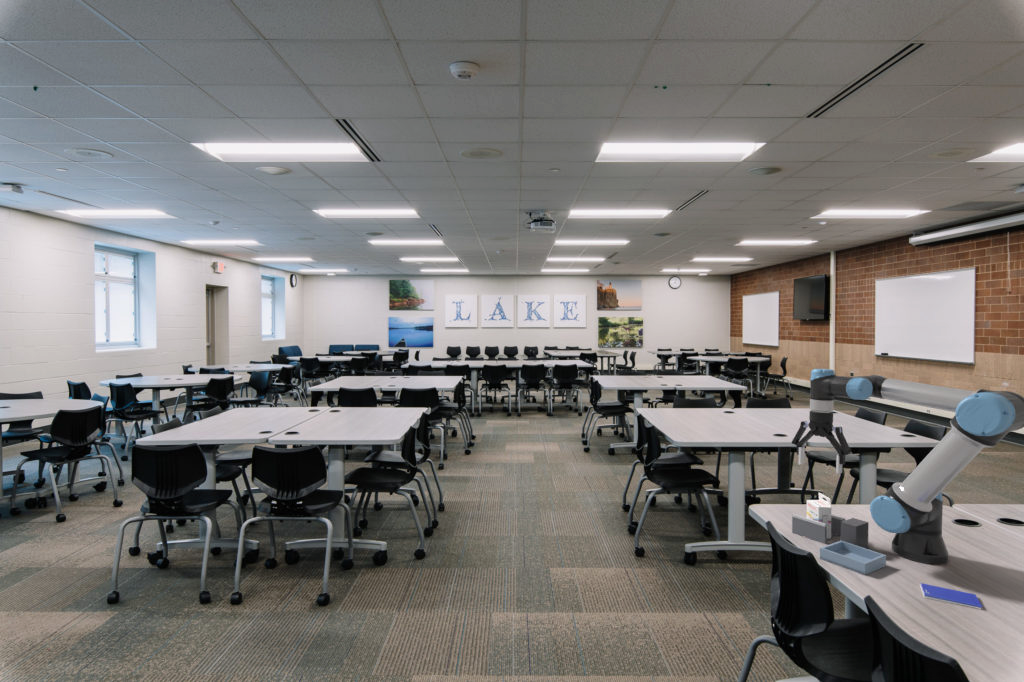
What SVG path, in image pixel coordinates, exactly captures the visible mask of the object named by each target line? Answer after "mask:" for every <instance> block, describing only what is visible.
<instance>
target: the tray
mask: <svg viewBox="0 0 1024 682" xmlns="http://www.w3.org/2000/svg"><path fill="white" fill-rule="evenodd" d="M819 559H820V560H822V561H826V562H828V563H831V564H833V565H835V566H836V565H837V566H838V565H839V567H841V566H842V567H841V568H844V569H847V570H849V569H850V570H849V571H852V572H855V573H857V572H858V573H857V574H860V573H861V575H863V576H866V575H870V573H871V574H872V573H873V571H874V572H877V570H880V568H881V569H882V567H883V568H885V567H887V555H886V554H883V553H880V552H877V551H874V550H871V549H869V548H867V549H866V548H863V547H860V546H857V545H853V544H850V543H847V542H844V541H840V540H839V541H835V542H833V543H830V544H827V545H825V546H822V547H819ZM884 566H885V567H884Z"/></svg>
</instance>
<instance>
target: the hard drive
mask: <svg viewBox="0 0 1024 682" xmlns="http://www.w3.org/2000/svg"><path fill="white" fill-rule="evenodd" d="M919 587H920V590H921V592H922V595H923V598H924V599H929V600H931V601H932V600H933V601H937V602H938V601H939V602H941V603H942V602H943V603H947V602H948V604H952V603H953V605H957V604H959V605H958V606H961V605H965V606H964V607H966V606H971V607H978V608H982V609H983V605H982V603H981V602H980V600H979V598H978V596H977V595H976V594H975V593H971V592H965V591H960V590H955V589H950V588H946V587H941V586H937V585H932V584H928V583H927V584H926V583H919ZM971 607H970V608H971Z"/></svg>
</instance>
